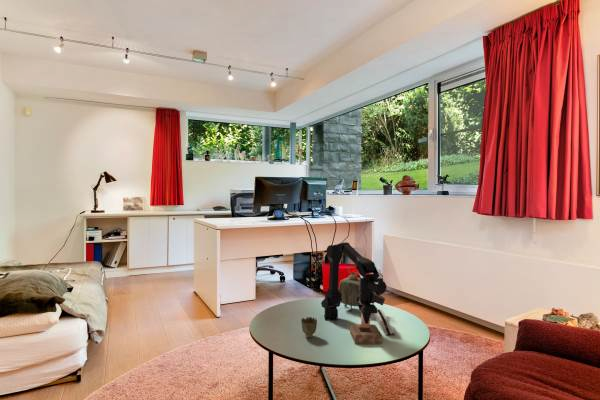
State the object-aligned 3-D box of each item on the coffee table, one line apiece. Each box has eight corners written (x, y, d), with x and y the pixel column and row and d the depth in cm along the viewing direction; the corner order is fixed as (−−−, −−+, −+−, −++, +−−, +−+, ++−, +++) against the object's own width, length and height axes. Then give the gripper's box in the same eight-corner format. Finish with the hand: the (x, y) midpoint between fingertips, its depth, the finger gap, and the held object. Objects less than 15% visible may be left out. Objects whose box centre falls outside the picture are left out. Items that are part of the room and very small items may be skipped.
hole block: (355, 344, 152) (355, 335, 152) (350, 332, 164) (350, 324, 164) (381, 343, 153) (381, 334, 153) (374, 332, 165) (375, 324, 165)
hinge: (396, 335, 162) (389, 315, 162) (386, 338, 162) (379, 319, 162) (386, 322, 179) (380, 304, 178) (378, 325, 179) (372, 307, 178)
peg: (362, 327, 156) (362, 310, 156) (360, 324, 160) (360, 307, 160) (370, 327, 157) (371, 310, 156) (368, 324, 161) (369, 307, 160)
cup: (305, 341, 154) (305, 323, 154) (298, 335, 161) (298, 318, 161) (320, 338, 158) (320, 321, 158) (312, 332, 164) (312, 315, 164)
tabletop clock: (367, 310, 196) (367, 266, 195) (361, 315, 188) (361, 269, 187) (343, 305, 203) (344, 263, 203) (337, 310, 196) (337, 266, 195)
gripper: (389, 294, 149) (388, 330, 149) (378, 282, 168) (377, 314, 168) (364, 294, 149) (363, 330, 149) (355, 282, 167) (354, 314, 168)
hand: (365, 321), depth 158 cm, fingers closed on peg, 4 cm apart
